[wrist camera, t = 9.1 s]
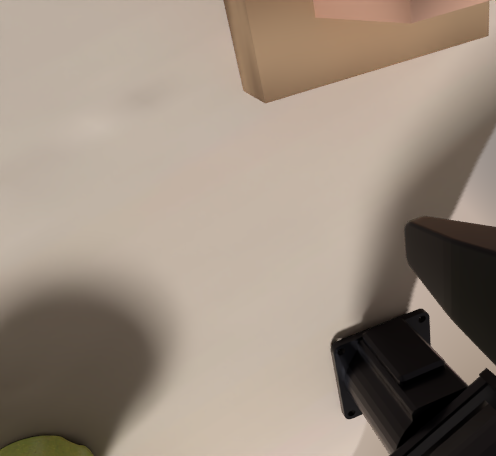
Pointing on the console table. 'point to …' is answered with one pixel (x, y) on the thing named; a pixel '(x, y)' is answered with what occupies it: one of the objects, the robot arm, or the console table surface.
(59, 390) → the console table surface
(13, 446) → the plant pot
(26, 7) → the console table surface
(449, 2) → the peach block
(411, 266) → the robot arm
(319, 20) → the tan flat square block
